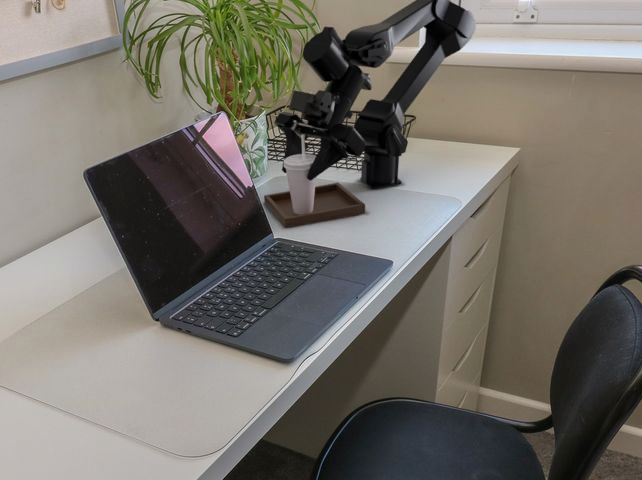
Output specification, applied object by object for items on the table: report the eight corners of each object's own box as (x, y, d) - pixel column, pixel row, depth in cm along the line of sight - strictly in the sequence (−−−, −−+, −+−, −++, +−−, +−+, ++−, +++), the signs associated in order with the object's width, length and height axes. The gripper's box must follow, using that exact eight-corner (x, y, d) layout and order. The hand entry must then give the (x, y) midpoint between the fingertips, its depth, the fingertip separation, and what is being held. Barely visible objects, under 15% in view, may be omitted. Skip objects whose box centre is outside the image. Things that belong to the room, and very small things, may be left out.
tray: (338, 190, 139) (338, 182, 138) (365, 213, 128) (365, 204, 127) (264, 203, 136) (263, 195, 135) (285, 227, 126) (285, 219, 125)
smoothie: (315, 218, 127) (312, 140, 118) (282, 216, 129) (277, 140, 120) (323, 205, 132) (321, 129, 123) (291, 203, 134) (287, 129, 125)
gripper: (278, 64, 124) (236, 142, 125) (354, 75, 112) (307, 162, 113) (311, 101, 132) (272, 173, 134) (385, 115, 120) (341, 195, 122)
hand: (295, 175), depth 125 cm, fingers closed on smoothie, 6 cm apart
